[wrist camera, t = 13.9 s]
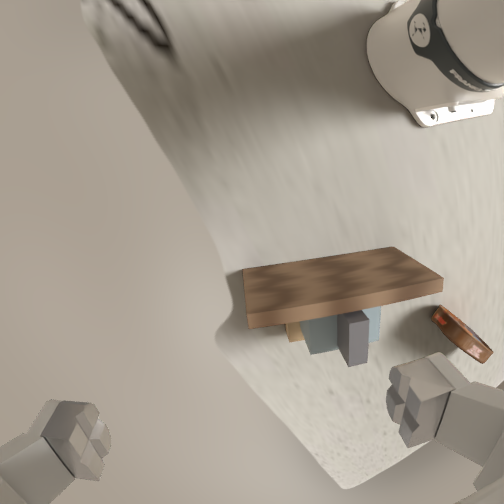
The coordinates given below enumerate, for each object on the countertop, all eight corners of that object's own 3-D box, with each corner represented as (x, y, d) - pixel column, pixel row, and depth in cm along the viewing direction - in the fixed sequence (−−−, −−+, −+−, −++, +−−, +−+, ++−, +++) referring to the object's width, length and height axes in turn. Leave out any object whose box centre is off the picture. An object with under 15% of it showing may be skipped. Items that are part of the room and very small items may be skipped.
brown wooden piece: (393, 246, 40) (443, 278, 28) (391, 310, 42) (433, 354, 31) (242, 269, 39) (246, 314, 28) (252, 335, 42) (259, 394, 31)
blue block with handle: (361, 272, 37) (398, 308, 28) (360, 316, 39) (393, 359, 29) (296, 283, 37) (317, 325, 27) (300, 327, 39) (319, 377, 29)
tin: (475, 332, 45) (502, 355, 37) (464, 346, 46) (490, 371, 38) (431, 297, 42) (462, 322, 34) (419, 314, 43) (448, 341, 35)
